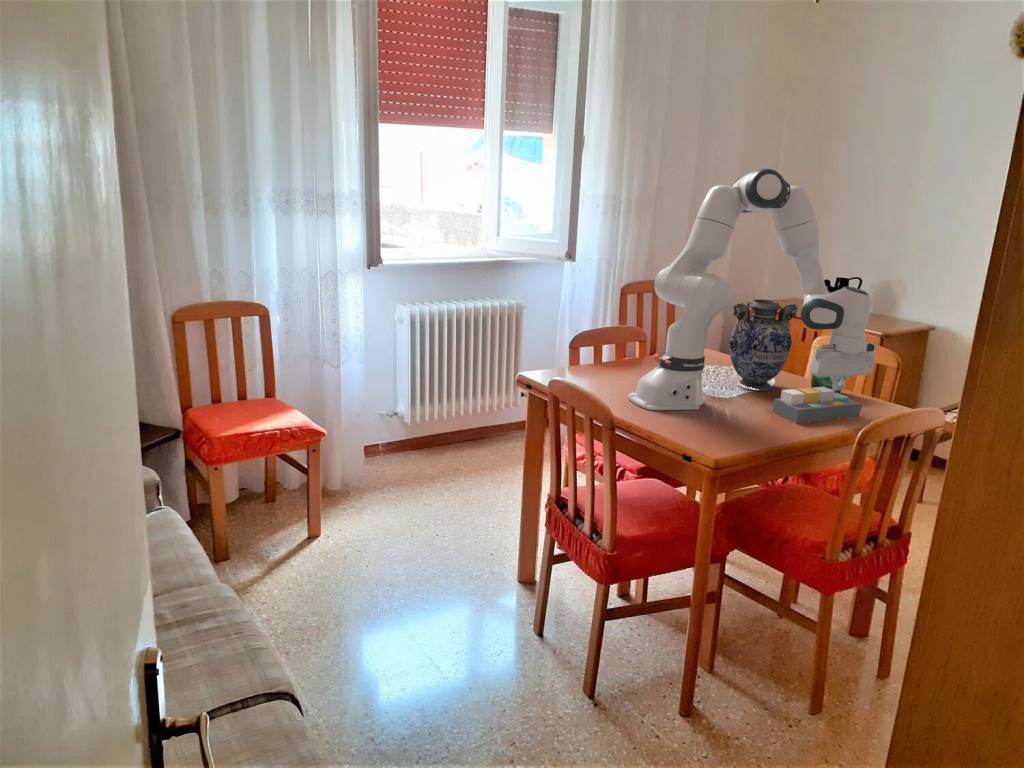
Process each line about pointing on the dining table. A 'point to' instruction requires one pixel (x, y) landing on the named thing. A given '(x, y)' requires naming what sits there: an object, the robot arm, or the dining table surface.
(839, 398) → the teal key
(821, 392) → the grey key
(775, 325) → the decorative vase
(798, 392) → the cream key
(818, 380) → the food container
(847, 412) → the keypad
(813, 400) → the ochre key
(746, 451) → the dining table surface
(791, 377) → the dining table surface
